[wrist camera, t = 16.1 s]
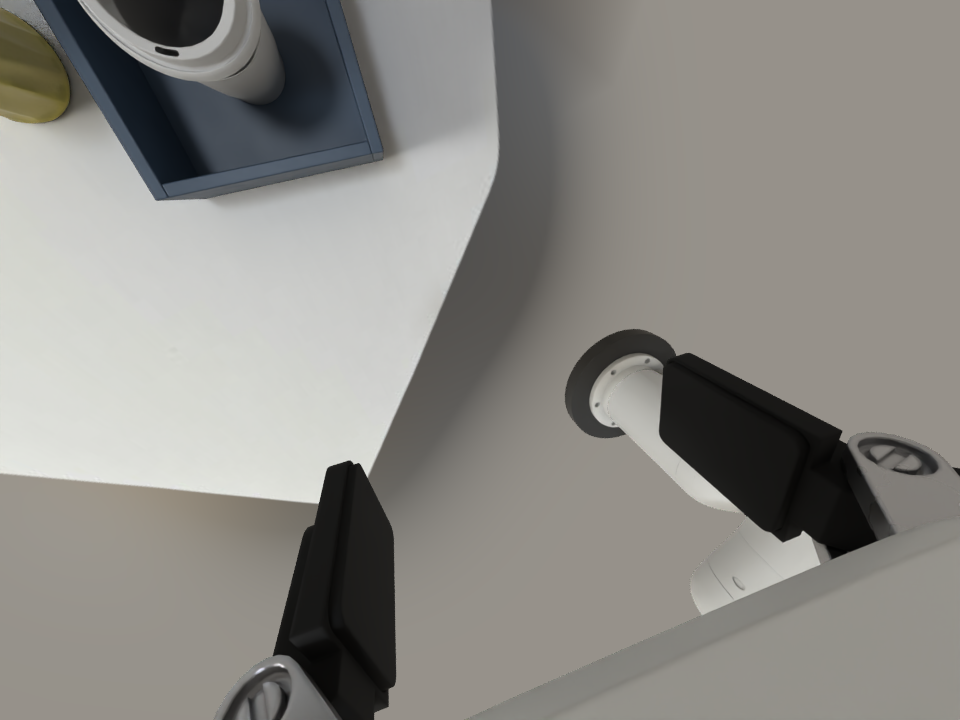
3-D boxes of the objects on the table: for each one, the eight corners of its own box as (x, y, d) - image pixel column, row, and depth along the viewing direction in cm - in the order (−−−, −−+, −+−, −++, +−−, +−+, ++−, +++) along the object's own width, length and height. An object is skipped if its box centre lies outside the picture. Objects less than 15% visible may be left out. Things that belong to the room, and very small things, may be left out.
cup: (200, 112, 24) (66, 52, 14) (175, -15, 22) (-16, -207, 11) (309, 129, 26) (263, 88, 16) (298, 15, 24) (235, -124, 13)
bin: (307, -95, 22) (281, -200, 16) (383, 159, 29) (383, 151, 23) (58, -67, 20) (-75, -175, 14) (204, 199, 27) (155, 200, 21)
